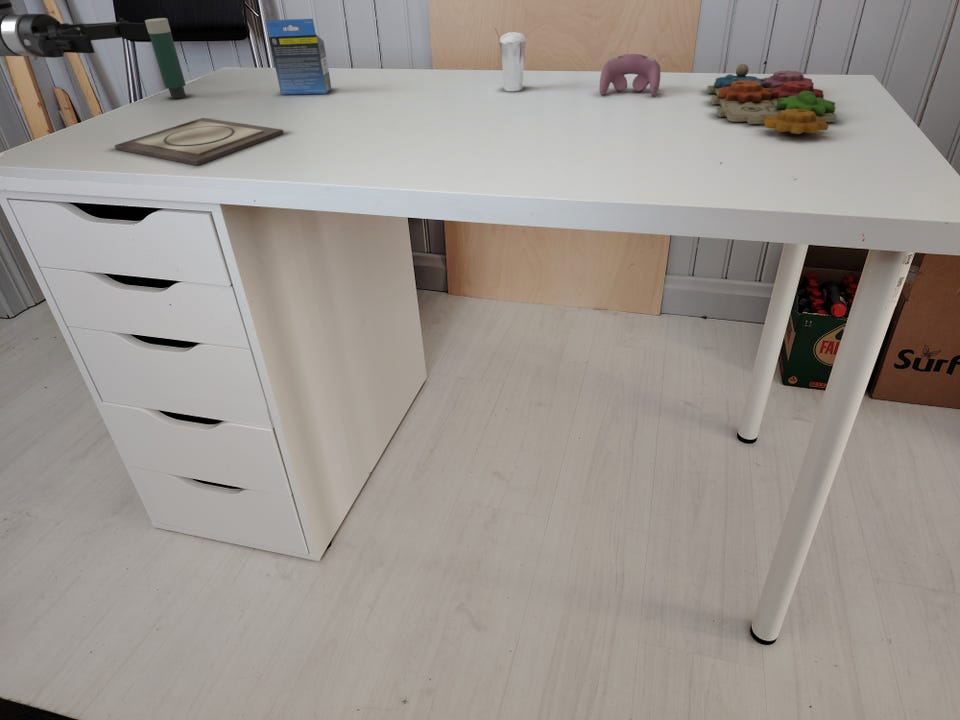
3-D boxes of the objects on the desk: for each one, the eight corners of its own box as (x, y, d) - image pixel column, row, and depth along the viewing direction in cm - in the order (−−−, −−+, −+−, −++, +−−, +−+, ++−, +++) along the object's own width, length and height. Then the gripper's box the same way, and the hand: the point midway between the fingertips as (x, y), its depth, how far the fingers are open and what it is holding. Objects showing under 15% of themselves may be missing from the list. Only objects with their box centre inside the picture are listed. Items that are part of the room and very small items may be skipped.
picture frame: (115, 149, 94) (113, 143, 94) (203, 121, 106) (202, 115, 105) (197, 165, 87) (195, 159, 86) (283, 133, 98) (282, 127, 97)
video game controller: (657, 101, 110) (663, 58, 109) (658, 94, 105) (663, 49, 104) (599, 100, 112) (604, 57, 111) (597, 93, 108) (602, 49, 107)
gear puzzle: (857, 143, 83) (867, 110, 80) (725, 141, 86) (731, 109, 83) (805, 87, 108) (811, 60, 105) (704, 87, 110) (708, 61, 108)
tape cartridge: (332, 89, 121) (320, 15, 114) (326, 94, 118) (313, 18, 111) (287, 90, 122) (272, 16, 115) (279, 95, 119) (264, 20, 112)
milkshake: (492, 88, 116) (491, 26, 110) (520, 85, 117) (520, 24, 112) (500, 94, 112) (499, 30, 107) (529, 90, 114) (529, 27, 108)
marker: (164, 98, 120) (140, 20, 113) (180, 94, 123) (158, 17, 115) (177, 100, 119) (153, 21, 111) (193, 96, 121) (171, 18, 114)
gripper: (95, 45, 136) (174, 47, 130) (-15, 70, 117) (71, 74, 111) (81, 4, 132) (162, 4, 125) (-35, 24, 113) (53, 25, 107)
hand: (120, 37), depth 118 cm, fingers open, 13 cm apart
